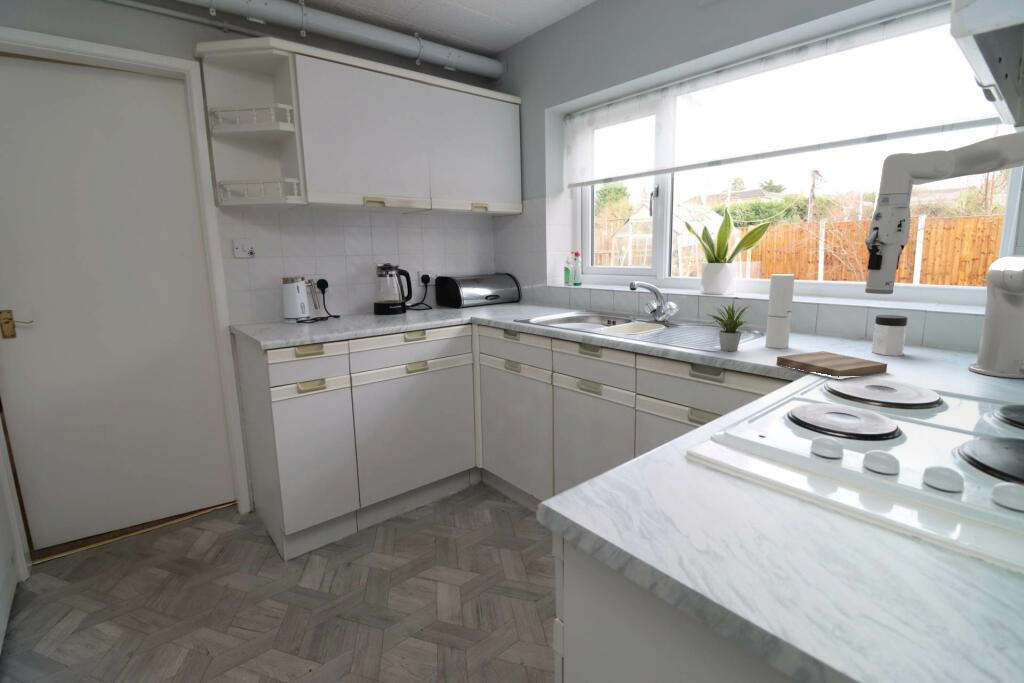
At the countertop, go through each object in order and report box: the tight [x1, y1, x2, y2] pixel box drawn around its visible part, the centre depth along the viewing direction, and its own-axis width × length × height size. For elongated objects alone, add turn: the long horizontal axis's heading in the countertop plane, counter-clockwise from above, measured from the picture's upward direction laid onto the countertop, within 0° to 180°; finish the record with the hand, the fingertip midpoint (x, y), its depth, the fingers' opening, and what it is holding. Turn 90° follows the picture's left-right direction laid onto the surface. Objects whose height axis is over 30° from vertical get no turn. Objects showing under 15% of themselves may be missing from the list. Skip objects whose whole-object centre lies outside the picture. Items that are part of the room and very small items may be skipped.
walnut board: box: [776, 350, 888, 377], centre depth 143 cm, size 19×19×2 cm
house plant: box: [706, 303, 752, 352], centre depth 170 cm, size 14×14×16 cm
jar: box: [871, 314, 909, 356], centre depth 161 cm, size 9×8×12 cm
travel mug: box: [864, 219, 905, 295], centre depth 137 cm, size 6×7×20 cm
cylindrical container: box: [764, 273, 796, 349], centre depth 173 cm, size 7×7×25 cm
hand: (882, 269), depth 138 cm, fingers closed on travel mug, 6 cm apart
